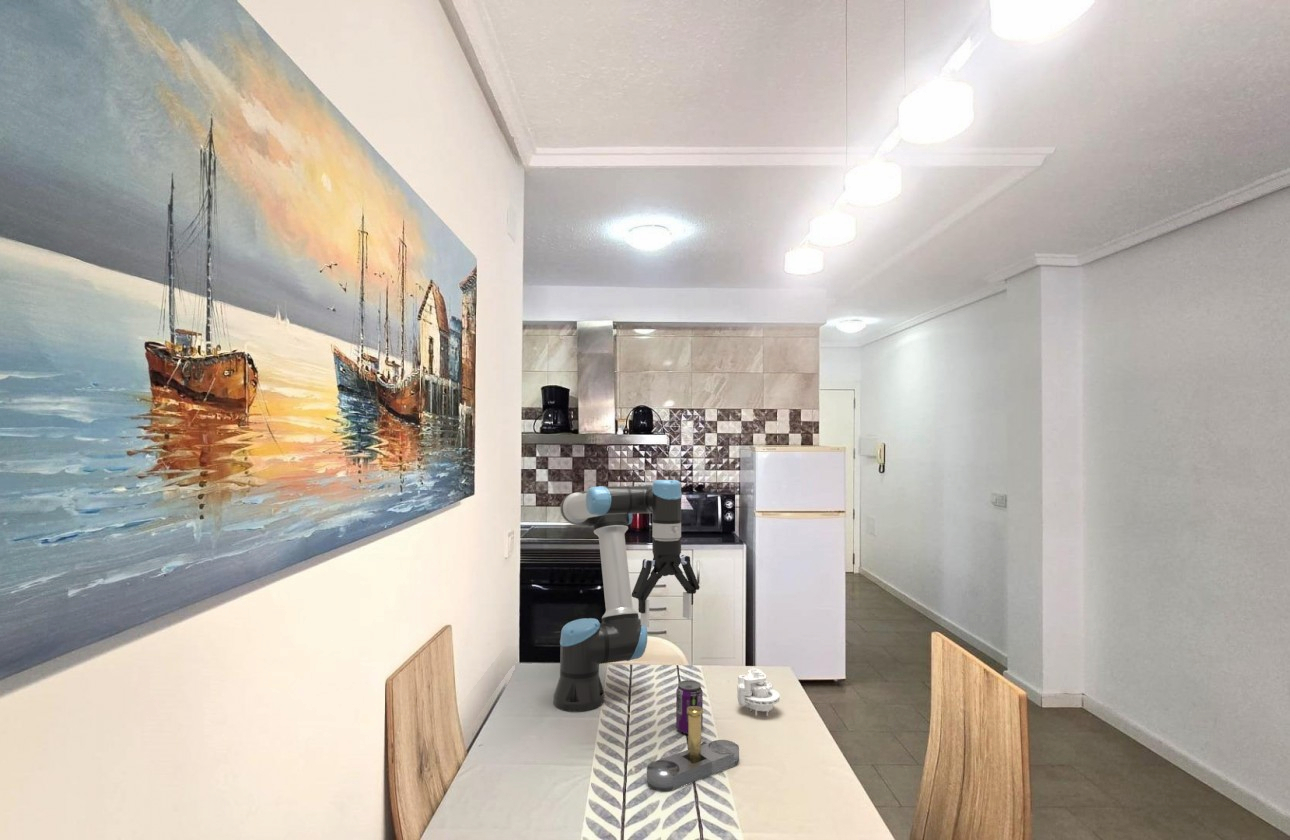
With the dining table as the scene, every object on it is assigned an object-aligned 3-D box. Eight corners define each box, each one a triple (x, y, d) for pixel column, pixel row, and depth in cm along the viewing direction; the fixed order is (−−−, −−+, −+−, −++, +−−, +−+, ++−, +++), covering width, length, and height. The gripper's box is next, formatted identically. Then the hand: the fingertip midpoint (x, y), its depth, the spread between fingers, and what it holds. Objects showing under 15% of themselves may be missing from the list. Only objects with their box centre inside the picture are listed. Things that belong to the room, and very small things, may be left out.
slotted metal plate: (640, 779, 134) (640, 766, 134) (724, 749, 148) (724, 737, 148) (659, 795, 128) (659, 780, 128) (745, 761, 142) (745, 749, 142)
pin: (683, 769, 138) (683, 708, 139) (695, 765, 140) (695, 704, 141) (693, 776, 135) (693, 714, 136) (706, 772, 137) (706, 710, 138)
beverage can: (701, 737, 154) (701, 690, 155) (674, 734, 156) (674, 688, 157) (703, 725, 161) (703, 680, 162) (678, 723, 163) (678, 678, 164)
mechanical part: (777, 723, 163) (777, 679, 164) (734, 716, 167) (734, 674, 168) (781, 707, 174) (781, 666, 175) (741, 701, 178) (740, 661, 178)
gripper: (634, 544, 144) (634, 632, 143) (712, 537, 158) (712, 618, 157) (618, 540, 150) (618, 625, 149) (694, 534, 164) (694, 611, 163)
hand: (666, 621), depth 153 cm, fingers open, 13 cm apart
